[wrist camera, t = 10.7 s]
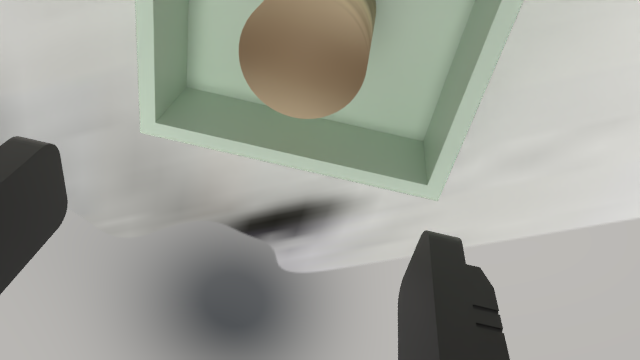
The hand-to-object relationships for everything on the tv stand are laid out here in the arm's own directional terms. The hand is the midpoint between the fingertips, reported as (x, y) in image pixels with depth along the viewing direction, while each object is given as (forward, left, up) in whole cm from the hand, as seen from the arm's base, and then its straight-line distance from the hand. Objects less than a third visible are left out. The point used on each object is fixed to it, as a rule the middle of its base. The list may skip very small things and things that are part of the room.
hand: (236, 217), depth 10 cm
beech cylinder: (0, 0, -17) cm, 17 cm away
